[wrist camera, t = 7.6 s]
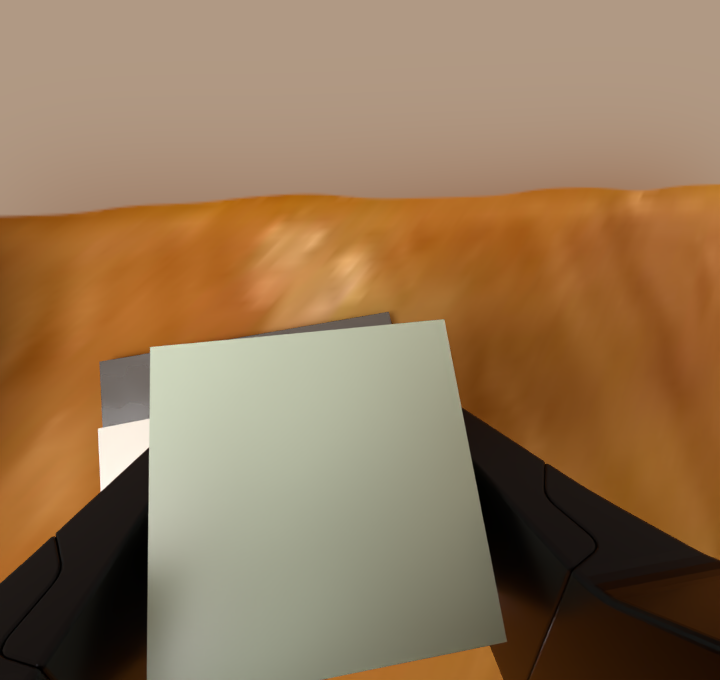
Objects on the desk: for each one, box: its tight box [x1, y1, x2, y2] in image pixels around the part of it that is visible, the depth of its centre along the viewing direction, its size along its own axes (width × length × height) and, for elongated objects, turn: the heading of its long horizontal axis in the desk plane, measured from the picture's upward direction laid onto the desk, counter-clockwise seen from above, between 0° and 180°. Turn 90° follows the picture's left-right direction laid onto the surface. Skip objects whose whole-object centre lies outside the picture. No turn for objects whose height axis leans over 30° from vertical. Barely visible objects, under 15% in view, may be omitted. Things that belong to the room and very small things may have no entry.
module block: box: [147, 319, 507, 680], centre depth 10 cm, size 4×4×10 cm
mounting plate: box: [100, 312, 391, 428], centre depth 21 cm, size 16×15×1 cm
